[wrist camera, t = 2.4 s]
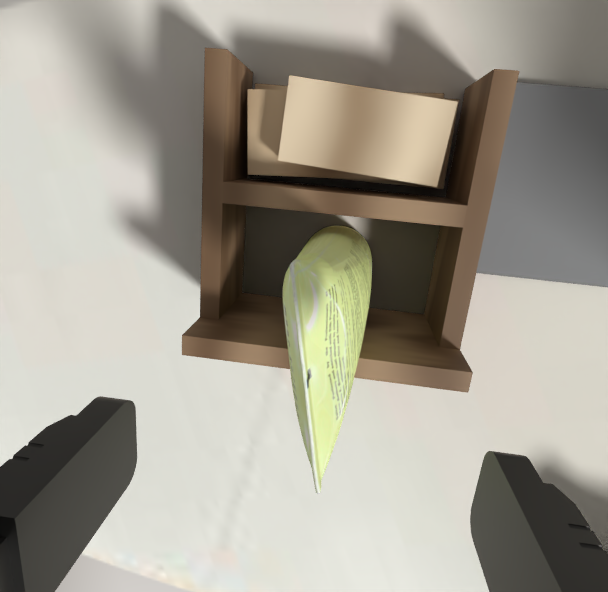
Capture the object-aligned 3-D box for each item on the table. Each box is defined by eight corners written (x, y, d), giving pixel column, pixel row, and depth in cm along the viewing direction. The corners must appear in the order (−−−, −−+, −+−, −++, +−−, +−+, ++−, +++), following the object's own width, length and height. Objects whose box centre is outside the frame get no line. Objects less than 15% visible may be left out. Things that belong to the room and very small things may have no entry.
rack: (484, 90, 27) (544, 56, 19) (437, 331, 32) (468, 392, 24) (234, 70, 28) (183, 31, 20) (226, 305, 33) (181, 354, 25)
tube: (282, 254, 32) (180, 382, 13) (330, 202, 30) (291, 263, 12) (338, 306, 32) (317, 497, 14) (388, 257, 31) (438, 398, 12)
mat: (673, 95, 26) (679, 94, 26) (613, 286, 30) (617, 288, 29) (503, 82, 27) (505, 81, 26) (464, 269, 31) (466, 271, 30)
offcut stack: (452, 103, 28) (475, 89, 22) (437, 190, 29) (455, 196, 24) (260, 88, 29) (240, 71, 23) (256, 172, 30) (236, 174, 25)
